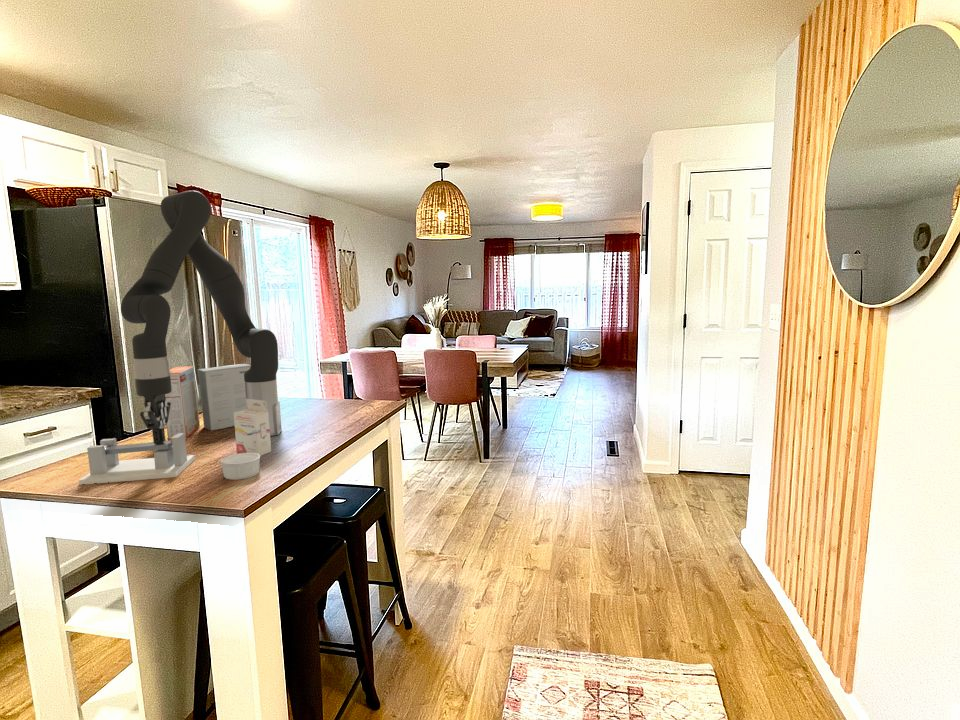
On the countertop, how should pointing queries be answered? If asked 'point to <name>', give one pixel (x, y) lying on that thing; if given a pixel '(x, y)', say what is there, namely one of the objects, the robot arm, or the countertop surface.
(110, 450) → the clamp lever
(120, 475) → the base
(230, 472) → the ramekin
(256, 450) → the ink cartridge box
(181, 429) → the cracker box
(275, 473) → the countertop surface
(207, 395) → the hard drive box
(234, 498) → the countertop surface
